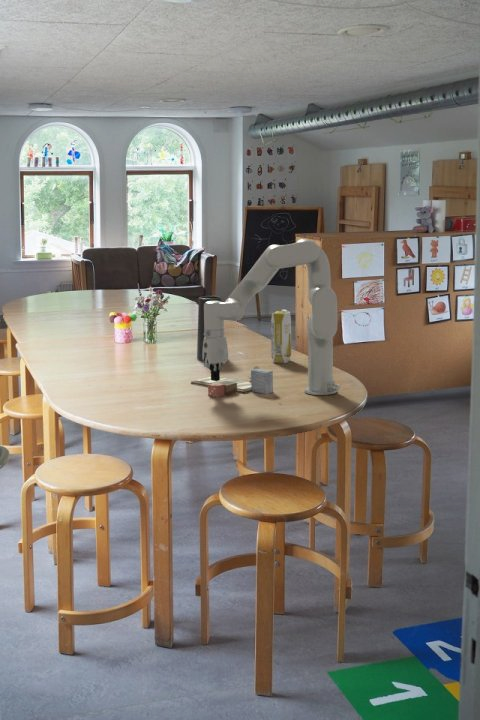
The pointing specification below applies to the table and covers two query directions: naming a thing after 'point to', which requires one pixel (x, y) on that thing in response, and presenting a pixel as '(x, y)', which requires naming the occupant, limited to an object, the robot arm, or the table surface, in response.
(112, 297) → the table surface
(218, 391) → the die
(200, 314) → the dark tapered cylinder
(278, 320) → the juice carton
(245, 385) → the board
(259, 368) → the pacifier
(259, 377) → the medicine box
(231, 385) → the stand
